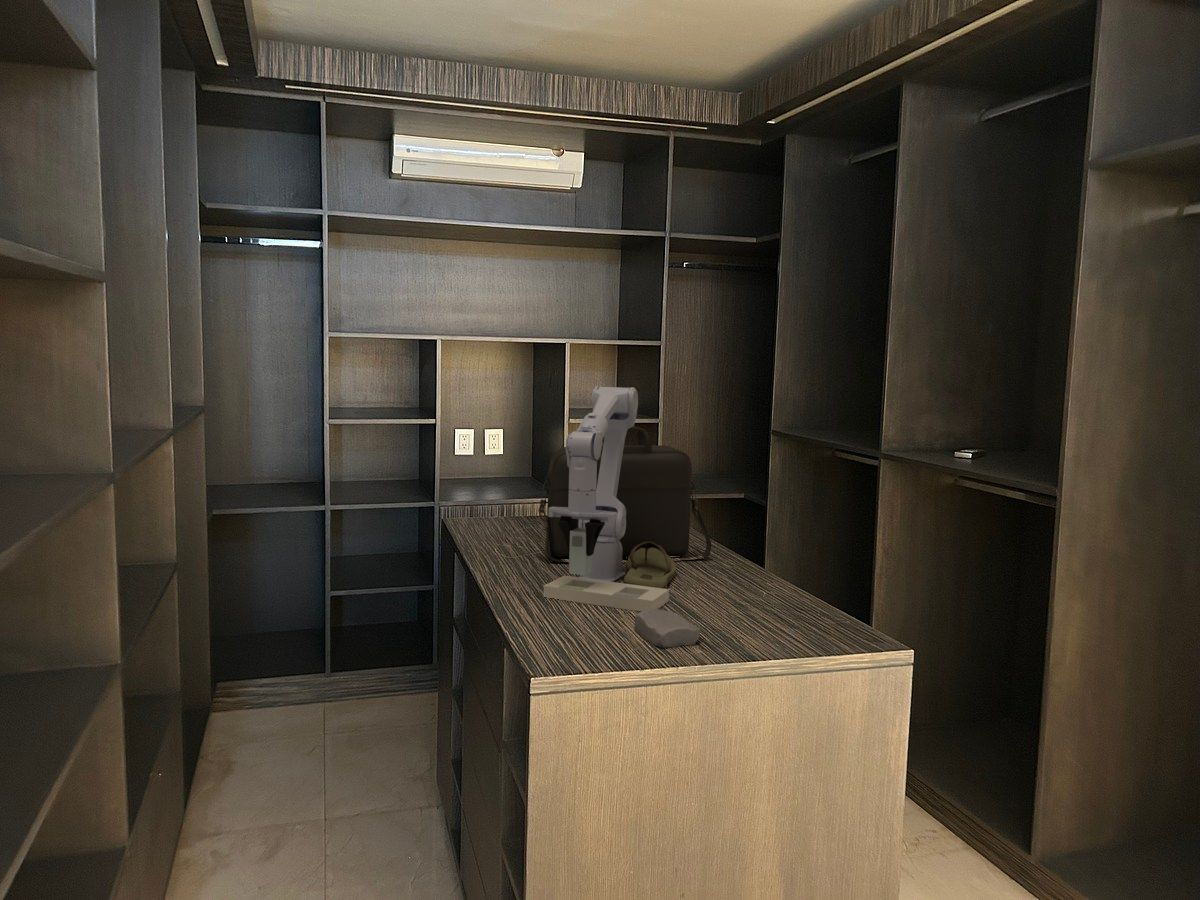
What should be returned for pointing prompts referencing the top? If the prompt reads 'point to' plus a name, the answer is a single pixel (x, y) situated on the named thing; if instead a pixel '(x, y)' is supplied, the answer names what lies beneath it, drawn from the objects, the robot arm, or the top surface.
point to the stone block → (665, 628)
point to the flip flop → (649, 566)
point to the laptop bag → (635, 498)
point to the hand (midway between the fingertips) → (580, 553)
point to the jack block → (606, 593)
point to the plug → (579, 553)
